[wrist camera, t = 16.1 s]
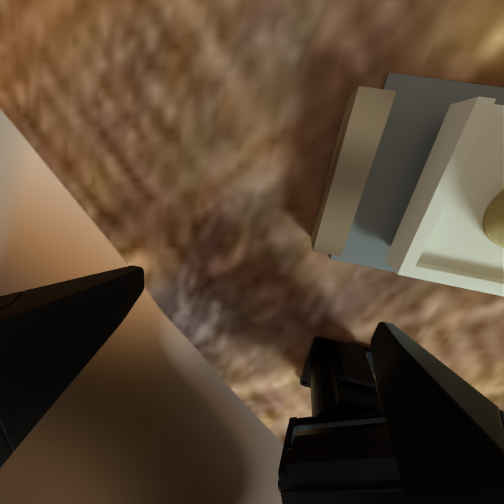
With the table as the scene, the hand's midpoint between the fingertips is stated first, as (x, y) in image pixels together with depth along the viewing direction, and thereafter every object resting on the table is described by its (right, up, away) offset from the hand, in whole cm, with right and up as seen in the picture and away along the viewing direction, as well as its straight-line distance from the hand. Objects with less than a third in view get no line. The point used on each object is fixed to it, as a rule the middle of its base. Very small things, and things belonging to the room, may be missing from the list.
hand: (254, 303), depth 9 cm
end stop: (+6, +7, +9) cm, 13 cm away
